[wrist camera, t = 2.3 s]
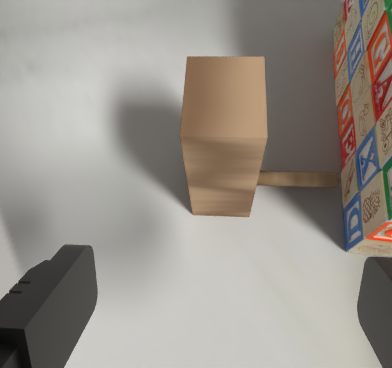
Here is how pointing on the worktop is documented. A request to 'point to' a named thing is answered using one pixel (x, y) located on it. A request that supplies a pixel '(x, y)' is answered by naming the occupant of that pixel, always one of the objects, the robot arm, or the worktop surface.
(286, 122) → the worktop surface
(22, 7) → the worktop surface
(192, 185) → the wooden mallet
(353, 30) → the stack of blocks
